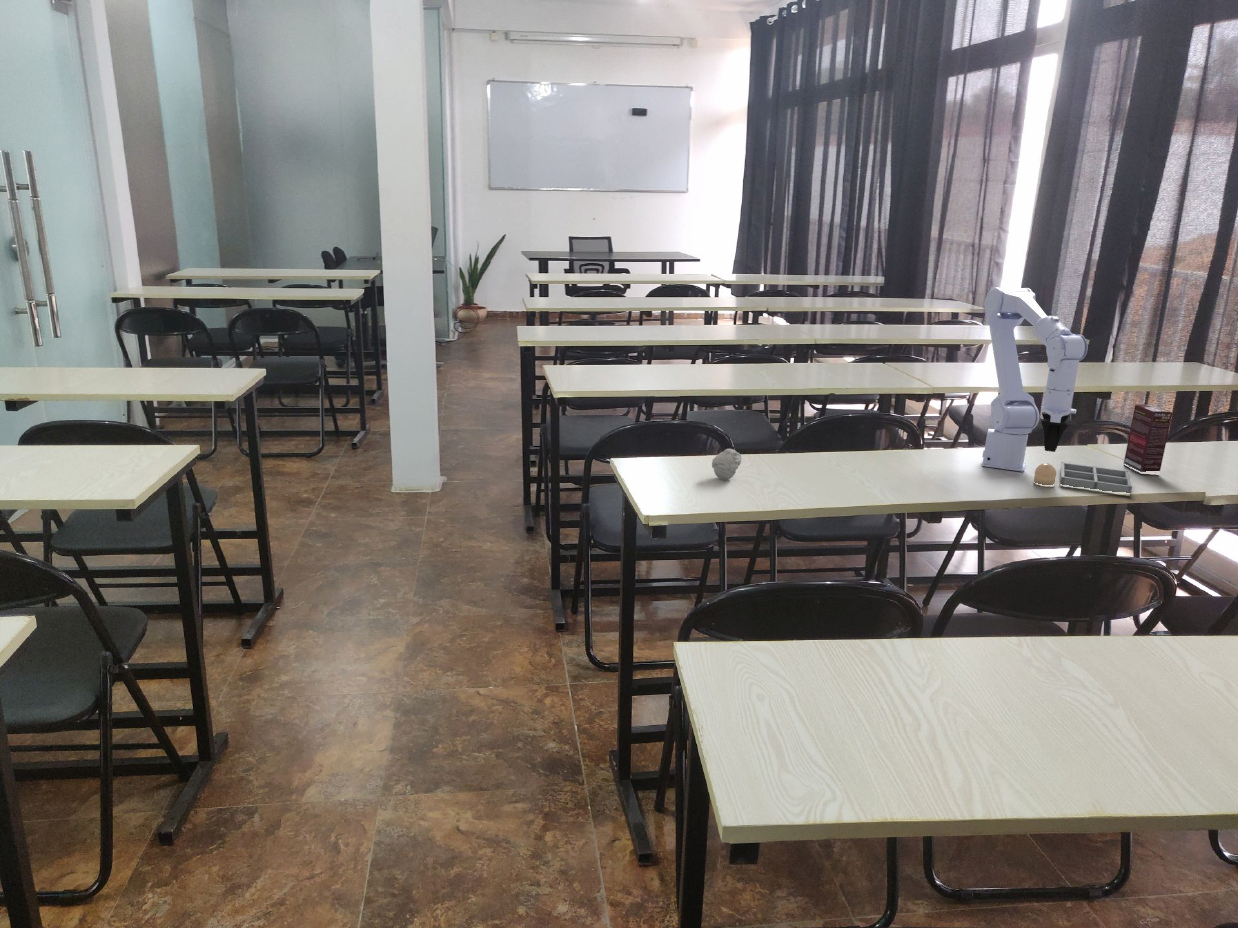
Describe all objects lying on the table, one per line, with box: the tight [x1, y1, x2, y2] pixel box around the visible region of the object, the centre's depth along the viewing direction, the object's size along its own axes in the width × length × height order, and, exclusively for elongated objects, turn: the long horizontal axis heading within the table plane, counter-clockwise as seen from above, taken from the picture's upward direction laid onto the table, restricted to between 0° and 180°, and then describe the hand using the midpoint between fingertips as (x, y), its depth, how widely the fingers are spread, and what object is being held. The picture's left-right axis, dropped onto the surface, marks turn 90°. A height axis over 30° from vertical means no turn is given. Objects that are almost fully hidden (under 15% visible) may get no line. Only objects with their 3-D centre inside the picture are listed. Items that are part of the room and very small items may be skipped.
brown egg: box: [1033, 463, 1057, 485], centre depth 205 cm, size 4×4×5 cm
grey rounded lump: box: [711, 448, 742, 481], centre depth 201 cm, size 6×7×7 cm
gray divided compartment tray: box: [1059, 461, 1133, 493], centre depth 207 cm, size 14×14×2 cm
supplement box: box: [1123, 403, 1173, 472], centre depth 217 cm, size 9×5×16 cm, turn 179°
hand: (1050, 447), depth 203 cm, fingers open, 7 cm apart
